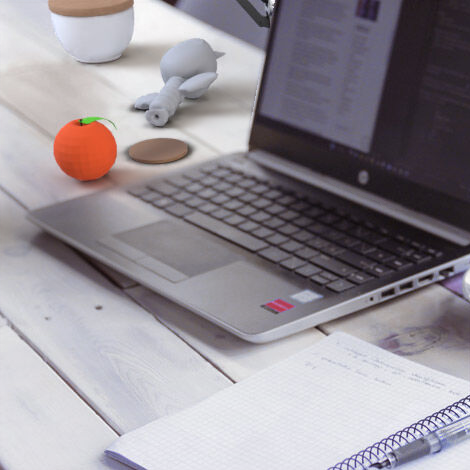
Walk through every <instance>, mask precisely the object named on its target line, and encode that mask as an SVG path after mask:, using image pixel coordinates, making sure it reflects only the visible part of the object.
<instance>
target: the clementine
mask: <svg viewBox="0 0 470 470" xmlns="http://www.w3.org/2000/svg"><path fill="white" fill-rule="evenodd" d="M101 120H105V121H108V122H109V123H110V124H112V125H113V127H114V128H115V130H116V131H118V129H117V126H116V125H115V123H114V122H112V120H109V119H107V118H104V117H101V116H87V117H84V118H77V119H73V120H70V121H69V122H67V123H66V124H65V125H63V126H62V127H61V128H60V129H59V130H58V132H57V133H56V135H55V137H54V141H53V147H52V149H53V151H52V152H53V158H54V161H55V162H56V164H57V165H58V167H59V168H60V170H61V171H62V172H63V173H64V174H65V175H66V176H68V177H70V178H72V179H75V180H77V181H81V182H82V181H84V182H85V181H87V182H88V181H94V180H97V179H101V178H102V177H103V176H105V175H107V173H109V172H110V170H111V169H112V168H113V166H114V165H115V163H116V160H117V156H118V145H117V144H118V143H117V141H116V138H115V136H114V135H113V133H112V131H111V130H110V129H109V128H108V127H107V126H106V125H105V124H103V123H102V122H100V121H101Z"/></svg>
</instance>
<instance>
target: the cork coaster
mask: <svg viewBox="0 0 470 470" xmlns="http://www.w3.org/2000/svg"><path fill="white" fill-rule="evenodd" d="M188 152H189V145H188V144H187V143H186V142H185V141H183V140H180V139H177V138H171V137H170V138H169V137H157V138H149V139H145V140H141V141H139V142H137V143H134V144H133V145H131V146H130V148H129V150H128V155H129V157H130V158H131V159H132V160H134V161H136V162H138V163H141V164H142V163H143V164H165V163H170V162H174V161H177V160H180V159H182V158H183V157H185V156H187V154H188Z"/></svg>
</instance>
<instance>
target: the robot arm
mask: <svg viewBox="0 0 470 470" xmlns="http://www.w3.org/2000/svg"><path fill="white" fill-rule="evenodd" d="M235 1H236V2H237V4H238V5H239V6H240V7H241V8H242V9H243V10H244V11H245V12H246V13H247V15H248V16H249V17H250V18H251V19H252V20H253V21H254V23H255V24H256V25H257V26H258V27H259V28H266V29H267V32H268V33H269V28H270V23H271V18H272V13H273V8H274V3H275V0H260V2H262V3H263V9H264V11H265V12H264V13H265V15H263V14H261V13H260V12H259V11H258V9H257V8H256V7H255V6H254V5H253V4H252V3H251V2H250V0H235Z"/></svg>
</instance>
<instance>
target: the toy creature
mask: <svg viewBox="0 0 470 470" xmlns="http://www.w3.org/2000/svg"><path fill="white" fill-rule="evenodd" d="M226 55H227V52H223V51H216V50H214V49H213V47H212V46H211V45H210V43H209V42H207V40H205V39H203V38H201V37H200V38H199V37H195V38H194V37H193V38H189V39H186V40H184V41H181V42H179V43H177V44H175V45H173V46H172V47H170V48H169V49H168V50H167V51H166V52H165V53H164V55H163V56H162V57H161V60H160V63H159V71H160V75H161V79H162V82H163V83H164V85H163V86H162V88H161V89H160V90H159V92H151V93H147V94H145V95H141V96H139V97H138V98H137V99H136V100H135V102H134V109H139V110H146V111H145V113H144V114H145V119H146V121H147V122H149V124H152V125H153V126H155V127H162V126H165V125H166V123H168V121H169V118H171V117H173V115H175V113H176V110H177V109H178V108H179V106H180V105H181V104H182V103H183V102H184V100H185V99H186V98H188V99H191V100H194V99H196V100H197V99H199V98H201V97H202V96H204V95H205V94H206V93H207V91H208V89H209V88H210V87H211V85H212V84H213V83H214V82H215V81H216V80H217V79H218V76H219V73H217V72H218V62H217V60H218V59H220V58H222V57H224V56H226Z"/></svg>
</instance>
